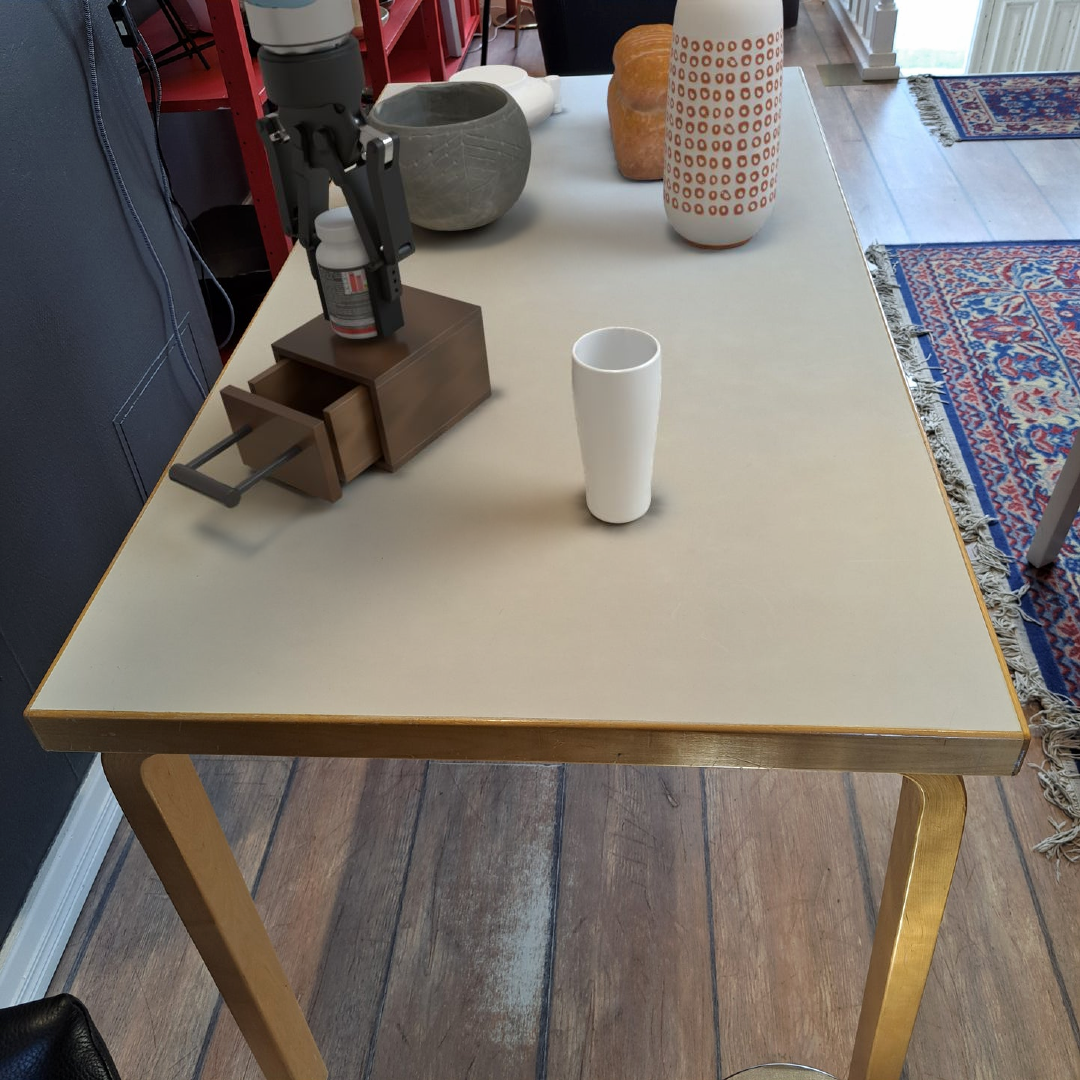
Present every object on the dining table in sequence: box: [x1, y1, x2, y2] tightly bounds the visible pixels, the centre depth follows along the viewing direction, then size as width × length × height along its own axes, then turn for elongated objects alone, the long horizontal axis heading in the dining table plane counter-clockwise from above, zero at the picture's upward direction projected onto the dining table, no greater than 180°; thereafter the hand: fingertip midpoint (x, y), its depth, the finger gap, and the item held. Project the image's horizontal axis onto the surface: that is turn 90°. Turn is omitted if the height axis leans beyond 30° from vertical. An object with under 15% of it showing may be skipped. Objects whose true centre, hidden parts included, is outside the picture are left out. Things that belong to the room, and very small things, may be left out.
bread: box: [606, 23, 673, 181], centre depth 139 cm, size 14×26×15 cm, turn 0°
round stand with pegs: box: [447, 64, 563, 129], centre depth 155 cm, size 24×24×7 cm
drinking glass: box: [570, 326, 663, 524], centre depth 77 cm, size 7×7×15 cm
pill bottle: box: [315, 205, 383, 339], centre depth 84 cm, size 6×6×10 cm
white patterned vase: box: [662, 0, 784, 250], centre depth 111 cm, size 13×13×28 cm
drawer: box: [167, 357, 384, 509], centre depth 85 cm, size 22×11×8 cm, turn 145°
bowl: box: [367, 81, 532, 232], centre depth 124 cm, size 21×21×15 cm
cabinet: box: [270, 283, 493, 473], centre depth 92 cm, size 15×13×10 cm
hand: (364, 321), depth 87 cm, fingers closed on pill bottle, 6 cm apart
